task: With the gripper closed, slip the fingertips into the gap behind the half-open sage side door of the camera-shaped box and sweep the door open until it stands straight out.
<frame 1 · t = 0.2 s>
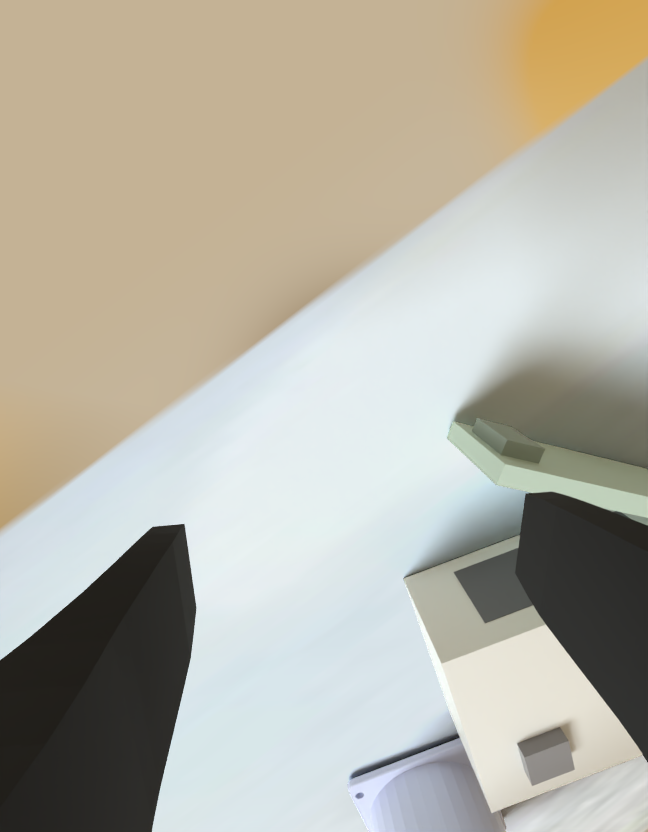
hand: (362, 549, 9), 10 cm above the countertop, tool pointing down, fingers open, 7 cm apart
side door: (597, 472, 18), point 2 cm above the countertop, hinge at 35.0°
camera box: (551, 603, 24), on the countertop
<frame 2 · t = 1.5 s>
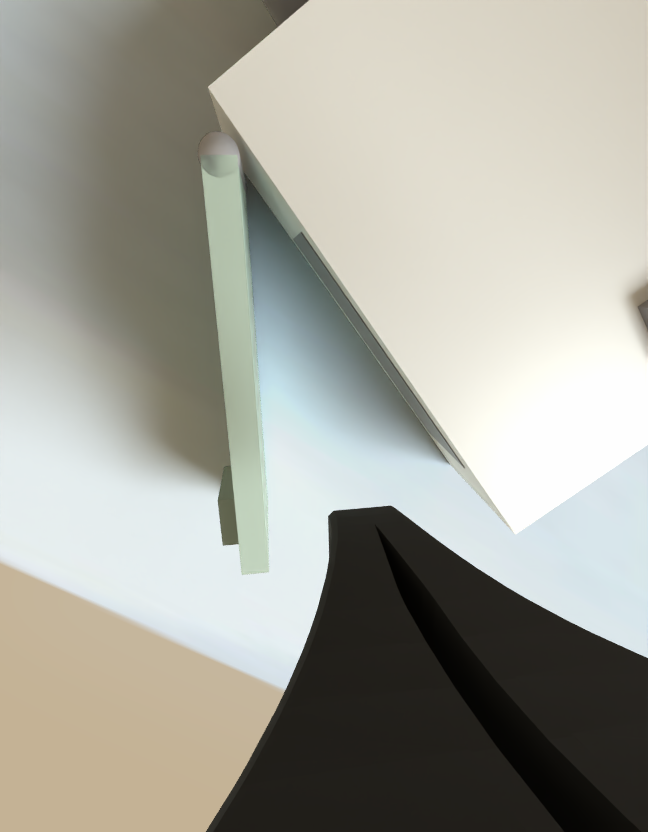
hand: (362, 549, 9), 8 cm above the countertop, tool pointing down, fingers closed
side door: (233, 369, 14), point 3 cm above the countertop, hinge at 35.0°
camera box: (470, 241, 16), on the countertop
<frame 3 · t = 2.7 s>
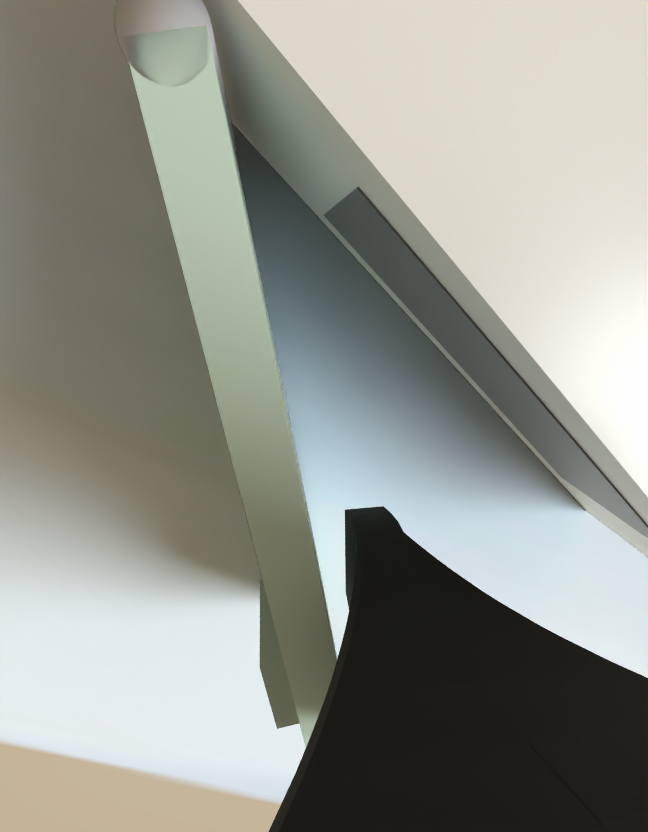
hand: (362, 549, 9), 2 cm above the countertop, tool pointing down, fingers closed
side door: (256, 448, 8), point 3 cm above the countertop, hinge at 35.9°, touching gripper
camera box: (599, 174, 10), on the countertop
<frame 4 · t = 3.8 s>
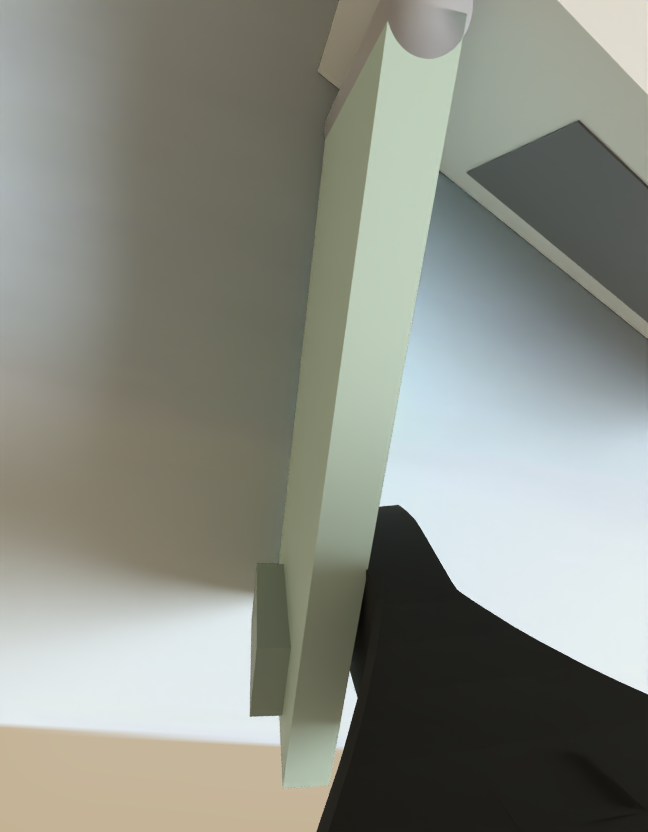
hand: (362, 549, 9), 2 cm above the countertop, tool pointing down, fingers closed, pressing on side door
side door: (314, 428, 8), point 2 cm above the countertop, hinge at 65.0°, touching gripper
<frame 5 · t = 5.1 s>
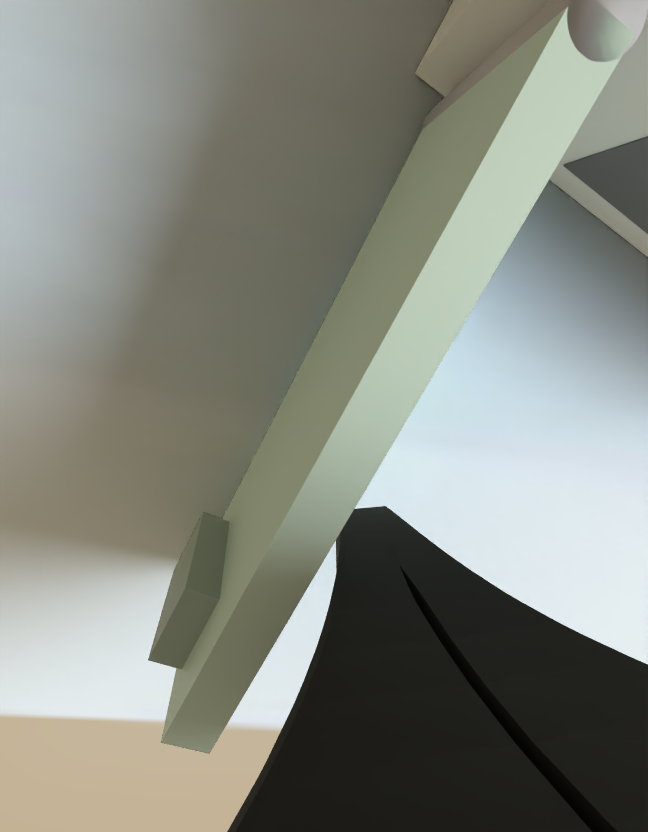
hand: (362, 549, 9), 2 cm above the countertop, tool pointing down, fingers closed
side door: (321, 388, 8), point 3 cm above the countertop, hinge at 88.2°, touching gripper
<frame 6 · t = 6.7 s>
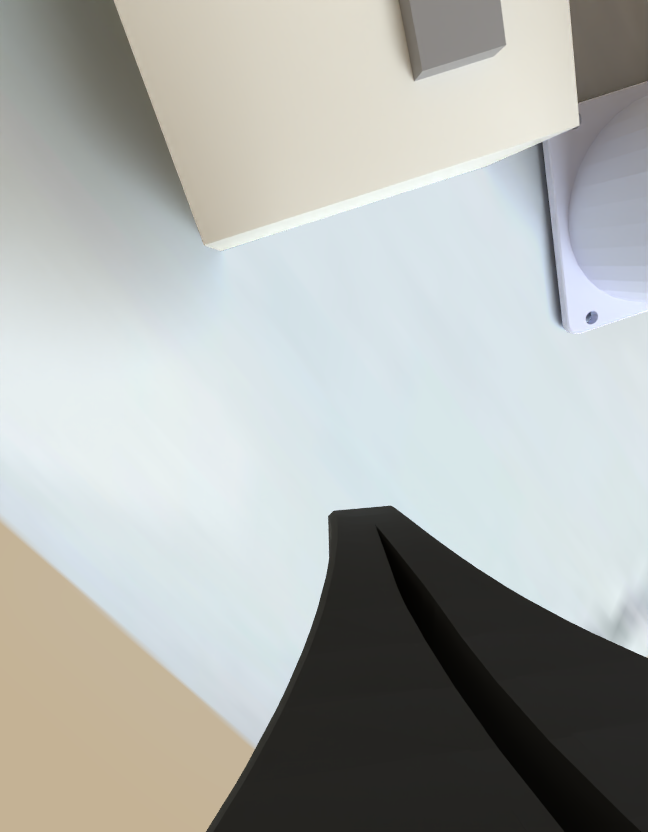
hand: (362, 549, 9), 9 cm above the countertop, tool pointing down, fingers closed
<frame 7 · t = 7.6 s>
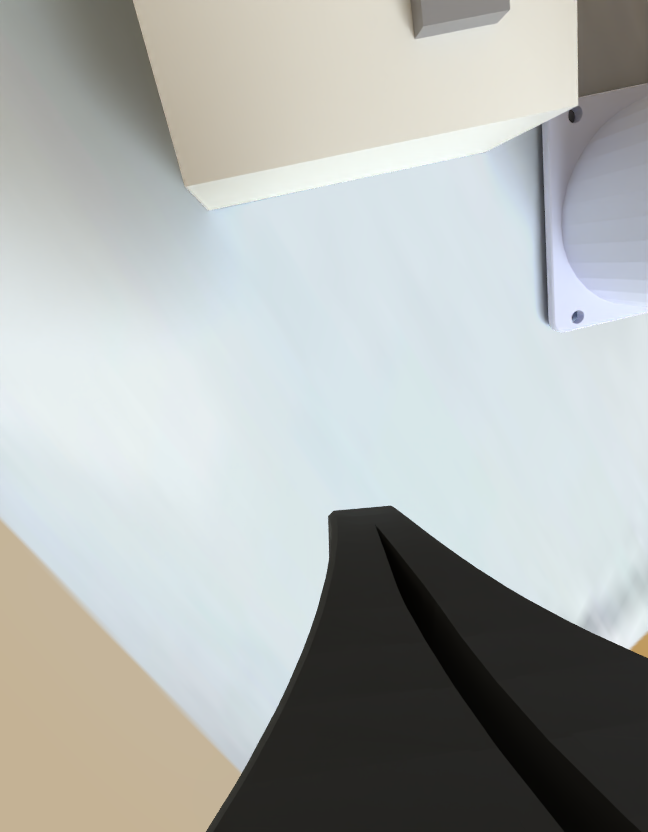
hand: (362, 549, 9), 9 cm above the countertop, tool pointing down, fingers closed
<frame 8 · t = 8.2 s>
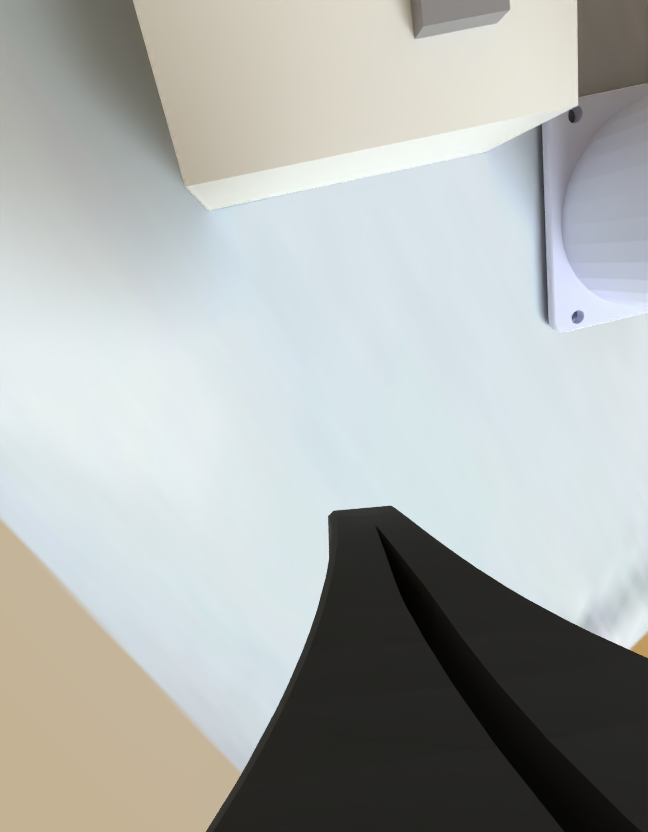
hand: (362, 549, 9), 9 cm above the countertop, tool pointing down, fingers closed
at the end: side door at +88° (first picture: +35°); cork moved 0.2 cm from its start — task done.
